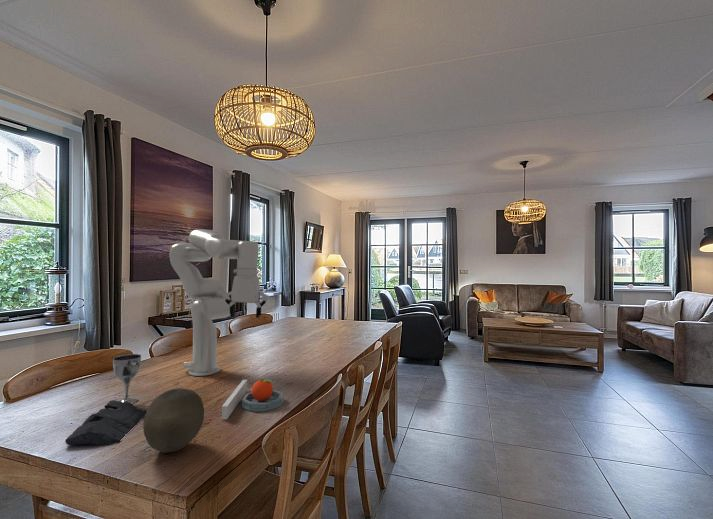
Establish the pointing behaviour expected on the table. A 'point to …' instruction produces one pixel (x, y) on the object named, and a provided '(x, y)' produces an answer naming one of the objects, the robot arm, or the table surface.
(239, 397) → the low wall
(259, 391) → the clementine
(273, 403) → the grey shallow dish
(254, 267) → the robot arm
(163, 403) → the cantaloupe
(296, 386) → the table surface
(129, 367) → the wine glass
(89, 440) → the dark slate chunk
